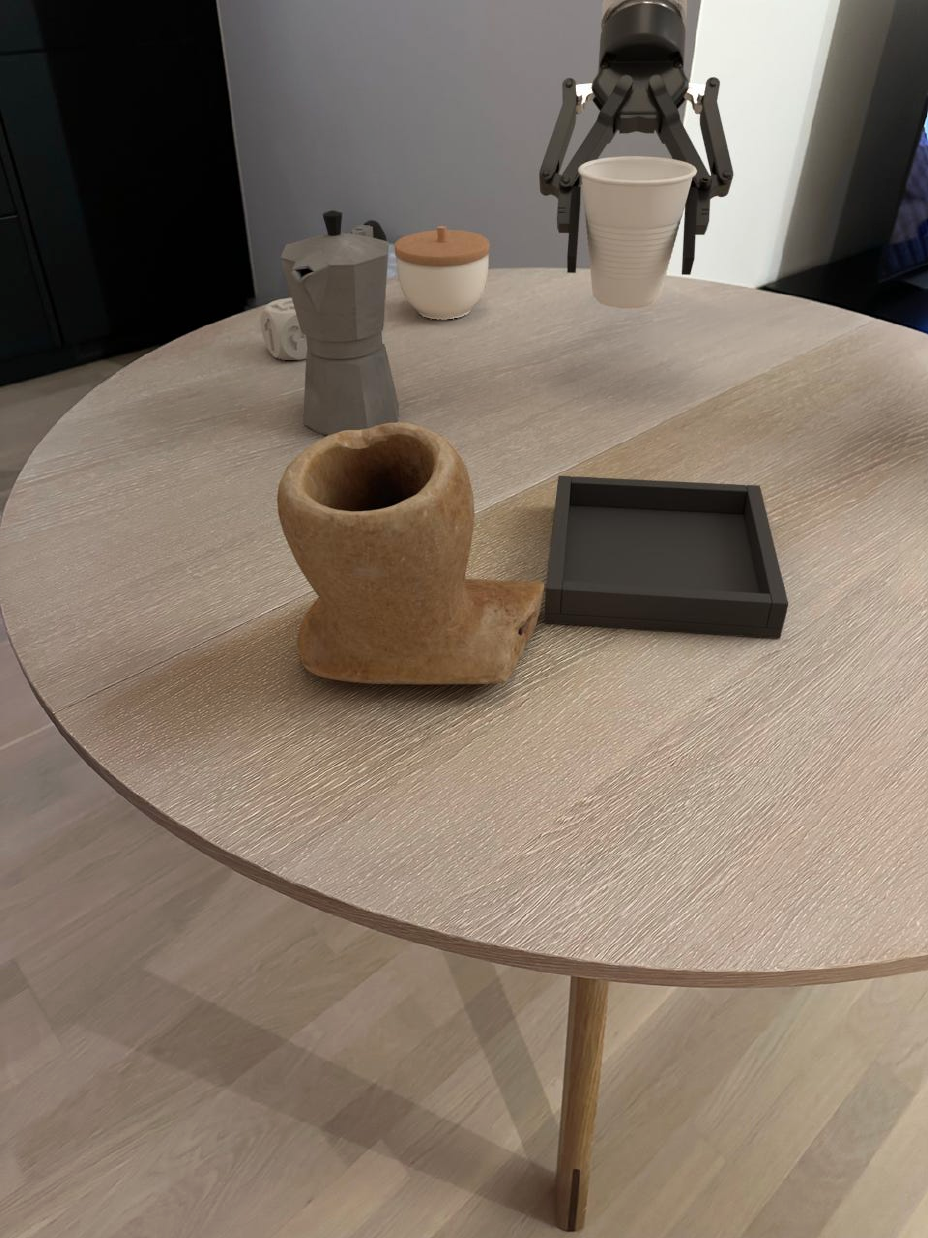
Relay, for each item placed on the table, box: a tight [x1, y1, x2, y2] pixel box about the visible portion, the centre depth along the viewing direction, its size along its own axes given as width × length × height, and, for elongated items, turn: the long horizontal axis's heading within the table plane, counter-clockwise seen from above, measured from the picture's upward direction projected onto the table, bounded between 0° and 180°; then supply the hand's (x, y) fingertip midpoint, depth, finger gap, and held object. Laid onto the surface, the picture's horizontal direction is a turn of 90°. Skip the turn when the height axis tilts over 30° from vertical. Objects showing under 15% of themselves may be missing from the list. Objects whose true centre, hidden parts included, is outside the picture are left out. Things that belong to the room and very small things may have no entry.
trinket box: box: [393, 225, 491, 321], centre depth 106 cm, size 11×11×9 cm
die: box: [260, 297, 307, 361], centre depth 98 cm, size 5×5×5 cm
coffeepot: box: [280, 209, 400, 436], centre depth 82 cm, size 15×9×18 cm, turn 159°
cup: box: [578, 155, 697, 309], centre depth 82 cm, size 10×10×11 cm
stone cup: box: [276, 422, 546, 685], centre depth 53 cm, size 15×12×15 cm
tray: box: [543, 475, 789, 640], centre depth 65 cm, size 15×15×3 cm
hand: (629, 265), depth 80 cm, fingers closed on cup, 9 cm apart
